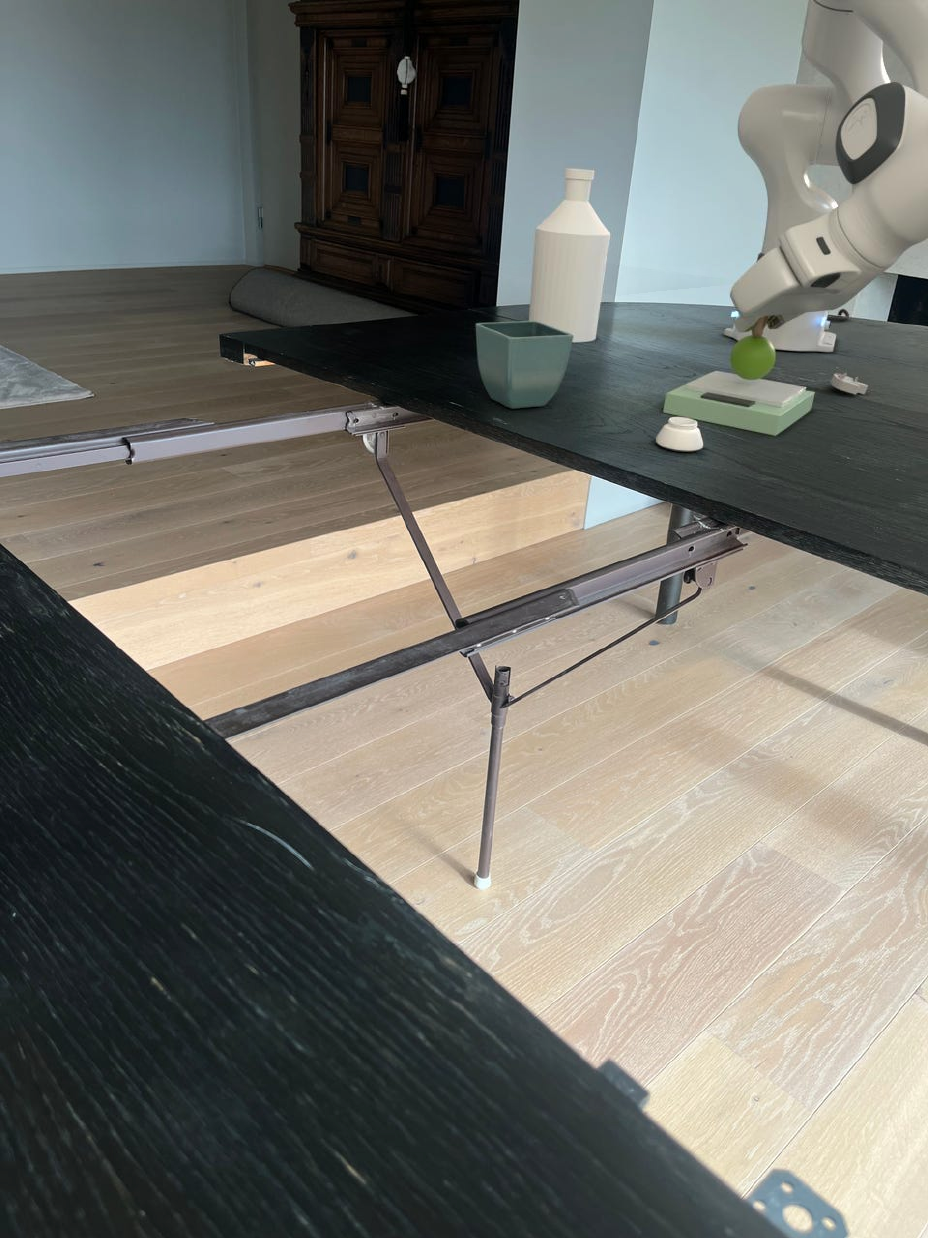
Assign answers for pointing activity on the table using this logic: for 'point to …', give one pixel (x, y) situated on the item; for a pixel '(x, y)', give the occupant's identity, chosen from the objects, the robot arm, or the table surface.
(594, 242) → the bottle
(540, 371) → the flower pot
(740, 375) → the snail figurine
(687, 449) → the lidless jar
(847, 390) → the game controller
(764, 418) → the scale
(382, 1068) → the table surface
